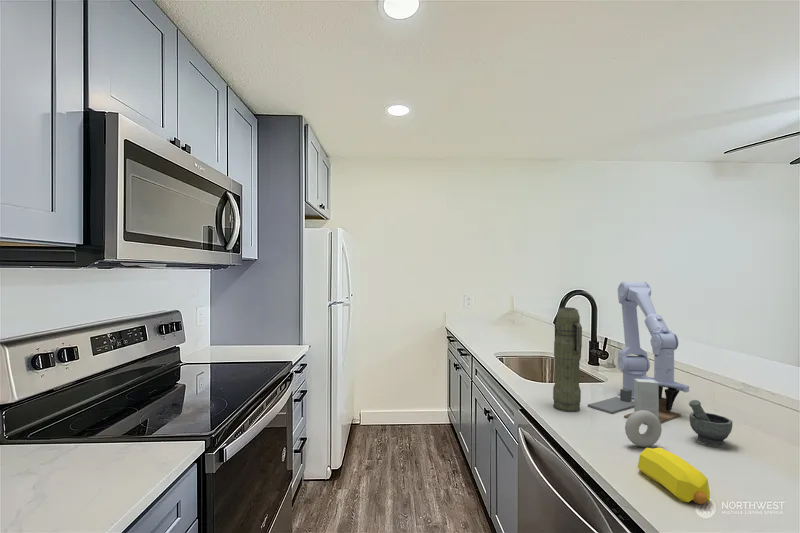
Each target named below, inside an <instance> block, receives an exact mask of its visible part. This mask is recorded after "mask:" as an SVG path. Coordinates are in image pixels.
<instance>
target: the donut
mask: <svg viewBox="0 0 800 533" xmlns="http://www.w3.org/2000/svg"><path fill="white" fill-rule="evenodd" d="M631 413H632V414H631V415H630V416H629V417H628V418H626V421H625V425H624V431H625V432H624V433H625V435H626V437H627V439H628V440H629V442H631V444H633V445H635V446H637V447H641V448H649V447H651V446H654V445H655V444H656V443H657V442H658V441H659V440H660V437H661V435H662V429H663V428H662V423H660V421H659V419H658V417H657V416H656V415H655V414H653V413H652V412H650V411H646V410H639V411H636V412H634V413H633V412H631ZM644 423H646V424H645V425H647V426H646V427H647V429H646V431H645V432H644V433H640V427H641V425H642V424H644Z"/></svg>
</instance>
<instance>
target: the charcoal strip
mask: <svg viewBox="0 0 800 533" xmlns="http://www.w3.org/2000/svg"><path fill="white" fill-rule="evenodd" d="M619 391H620V392H619V393H620V395H619V396H620V397H618V396H614V397H611V398H607V399H606V398H605V399H603V400H599V401H595V402H593V403H589V404H587V407H588V408H592V409H596V410H599V411H602V412H606V413H608V414H612V415H613V414H616V413H619V412H623V411H625V410H629V409H632V408H634V401H633V398H632V390H630V389H626V388H624V389H623V388H621V389H620V390H619Z"/></svg>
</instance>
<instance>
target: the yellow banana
mask: <svg viewBox="0 0 800 533" xmlns="http://www.w3.org/2000/svg"><path fill="white" fill-rule="evenodd" d="M637 463H638V464H637V468H638V470H640V471H641V472H642V474H644V475H645V476H647V477H648V478H650V479H651V480H653V481H655V482H656V483H658V484H660V485H661V486H663V487H664V488H665V489H666V490H667V491H668V492H670V493H671V494H672V495H674V497H676V498H677V499H678V500H680V502H682V503H689V502H691V501H693V503H695V504H698V505H704V504H706V503H707V502H710V501H711V497H710V496H711V492H710V485H709V480H708V477H707V476H705V475H704V474H703V473H702V472H701V471H700V470H699V469H697V468H696V467H694V466H693V465H691V464H690V463H689V462H687V461H686V460H685V459H684V458H682V457H681V456H679V455H676V454H675V453H672V452H670V451H668V450H666V449H664V448H662V447H655V448H652V447H645V448H644V449H643V451H642V452H640V454H639V457H638V462H637Z"/></svg>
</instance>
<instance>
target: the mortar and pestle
mask: <svg viewBox="0 0 800 533" xmlns="http://www.w3.org/2000/svg"><path fill="white" fill-rule="evenodd" d="M701 404H702V403H701V402H700V401H699V400H698V399H692V400H690V401H689V402H688V406H689V407H690V408H691V410H692V412H691V413H689V417H688V418H689V424H690V427H691V429H692V431H694V433H695V434H697V437H696V441H697V442H699V443H700V444H703V445H705V446H710V447H715V448H720V447H722V448H723V447H725V441H724V440H726V439H727V438H728V437H729V435H730V434H731V433H732V429H733V420H731V419H730V418H728V417H725V416H722V415H719V414H716V413H710V412H705V410H704V409H703V407H702V405H701Z"/></svg>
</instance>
